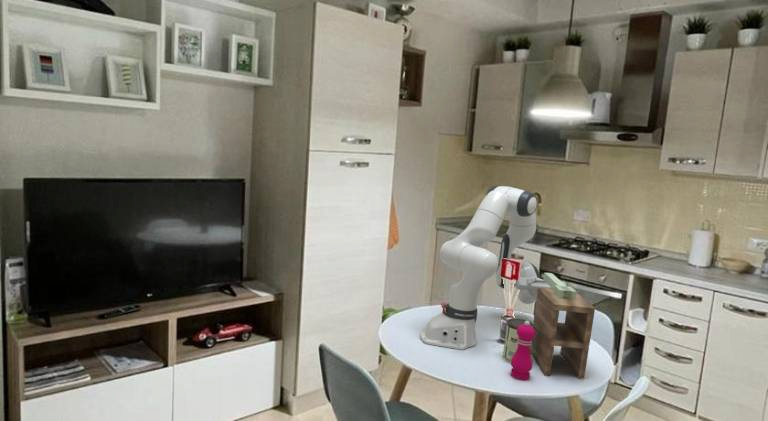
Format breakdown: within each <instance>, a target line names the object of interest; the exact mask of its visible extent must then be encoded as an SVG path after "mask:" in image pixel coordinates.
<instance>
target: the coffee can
mask: <svg viewBox="0 0 768 421" xmlns="http://www.w3.org/2000/svg"><path fill="white" fill-rule="evenodd" d="M525 321H529V322H530V326H531V327H533V329H534V330H535V324H534V323H533V321H530V320H526V319H523V318H509V319H507V320H506V328H505V337H504V342H503V343H504V344H503V352H502V358H503V360H504V361H506V362H508V363H510V364H511V360H512V357H513V355H514V354H515V352H516V351H517V348H518V342H517V340H518V339H517V338H518V337H519V336H518V335H517V329H518V327H519V326H520V325H523V324H524V323H525ZM532 344H533V339H532ZM531 352H532V345H531V346H530V356H531V357H532V355H531Z"/></svg>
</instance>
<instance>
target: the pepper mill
mask: <svg viewBox="0 0 768 421" xmlns="http://www.w3.org/2000/svg"><path fill="white" fill-rule="evenodd" d="M529 321H530V320H527V321H525V323H524V324H523V325H520V326H519V327H518V329H517V335H518V336H519V337H518V338H517V339H518V340H517V342H518V348H517V351H516V352H515V354H514V355H513V357H512V360H511V363H510V366H511V367H512V368H511V369H510V376H511V377H512V378H514V379H516V380H519V381H520V380H521V381H526V380H529V379H530V377H531V376H530V375H531V372H530V371H531V370H532V369H533V358H532V355H531V356H530V346H531V345H532V339H533V338H534V336H535V330H534V329H533V327H531V326H530V322H531V321H530V322H529Z"/></svg>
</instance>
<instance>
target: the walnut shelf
mask: <svg viewBox="0 0 768 421" xmlns="http://www.w3.org/2000/svg"><path fill="white" fill-rule="evenodd" d="M534 308H535V310H534V316H533V321H532V323H534V324H535V336H534V338H533V344H532V352H531V358H532V359H533V360H534V361H535V363H536V364H537V366H538V368H539V370H540V371H541V373H542V374H543V375H544V376H547V377H550V376H551V372H552V365H553V364H552V363H553V356H554V351H555V347H560V353H559V354H560V357H561V358H562V359H563V360H564V362H565V363H566V364H567V365H568V367H569V368H570V370H571V371H572V373H574V375H575V376H576V378H577V379H578V380H585V375H586V369H587V363H588V355H589V349H590V343H591V336H592V330H593V325H594V324H593V323H594V317H595V310H596V308H595V307H594V306H593V304H591V303H590V302H589V301H588V300H587V299H585V298H584V297H583V296H582V295H580V294H579V293H578V291H576V298H575V300H573V299H562V298H558V297H557V296H556V295H555V294H554V290H553V289H551V288H540V287H538V292H537V299H536V302H535V307H534ZM560 311H561V312H565V319H564V322H559V315H560Z"/></svg>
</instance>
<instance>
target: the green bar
mask: <svg viewBox="0 0 768 421" xmlns="http://www.w3.org/2000/svg"><path fill="white" fill-rule="evenodd" d="M543 280H544V281H545V282H546V283H547V284H548V285H549V286H550V287H551V288H552V289H553V290H554V294H555V295H556V296H557V297H558V298H562V299H573V300H575V298H576V292H577V291H576V290H575V289H574V288H573V287H572V286H568V285H567V284H566V285H565V284H563V283H562V282H561V281H562V280H560V279H559V278H558V277H557V276H556V275H555V274H554V273H552V272H544V273H543Z"/></svg>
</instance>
